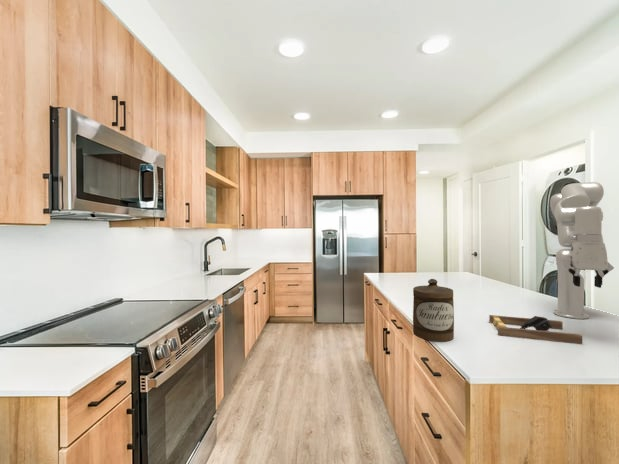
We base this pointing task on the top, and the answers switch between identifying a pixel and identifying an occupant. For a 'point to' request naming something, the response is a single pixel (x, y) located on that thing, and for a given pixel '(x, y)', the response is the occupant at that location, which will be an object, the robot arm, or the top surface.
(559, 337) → the brown wooden u-shaped frame
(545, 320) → the power plug
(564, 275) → the robot arm
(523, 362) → the top surface
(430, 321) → the wooden container
